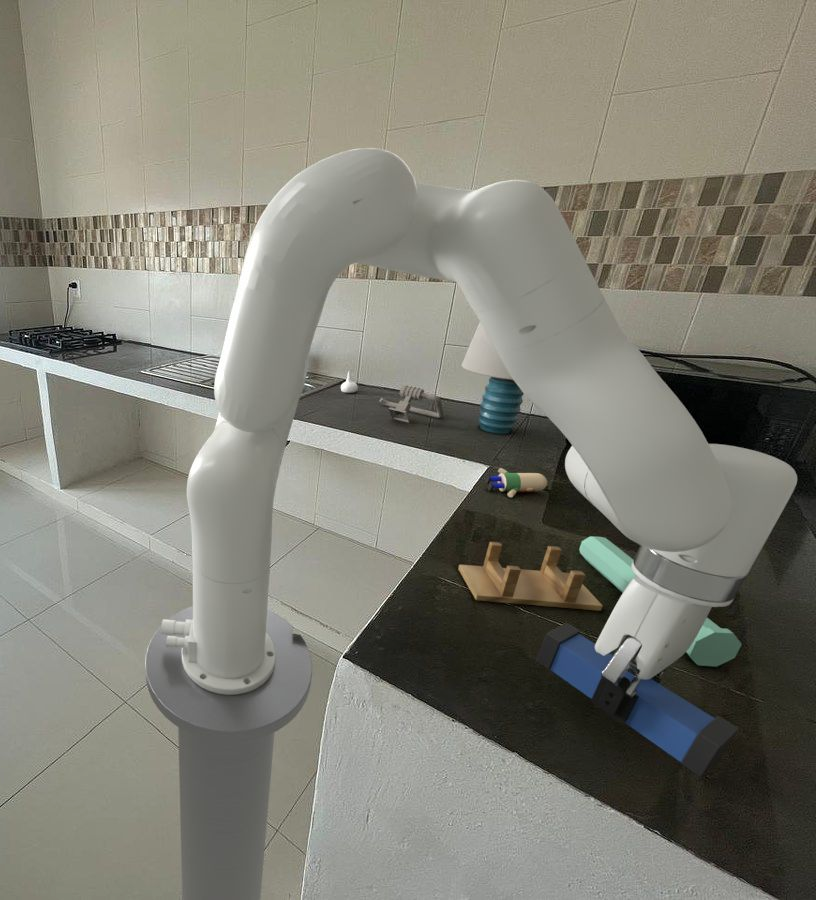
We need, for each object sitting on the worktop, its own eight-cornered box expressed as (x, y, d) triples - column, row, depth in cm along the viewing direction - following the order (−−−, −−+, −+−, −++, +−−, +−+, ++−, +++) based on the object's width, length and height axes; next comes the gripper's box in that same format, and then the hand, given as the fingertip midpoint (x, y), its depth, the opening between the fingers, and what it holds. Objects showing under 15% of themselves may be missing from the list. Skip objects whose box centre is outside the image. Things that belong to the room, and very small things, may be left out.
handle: (535, 660, 60) (546, 633, 58) (556, 649, 62) (566, 622, 60) (700, 778, 47) (720, 747, 45) (720, 758, 48) (739, 728, 47)
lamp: (435, 427, 148) (461, 294, 133) (468, 411, 164) (495, 291, 149) (527, 451, 131) (569, 302, 116) (554, 430, 147) (594, 297, 132)
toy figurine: (491, 503, 108) (548, 503, 106) (498, 491, 104) (557, 491, 103) (480, 475, 113) (534, 474, 112) (486, 462, 110) (542, 462, 108)
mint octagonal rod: (586, 524, 84) (714, 624, 61) (615, 537, 84) (752, 641, 61) (564, 550, 86) (679, 657, 63) (592, 563, 86) (716, 673, 63)
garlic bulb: (358, 394, 182) (360, 373, 179) (341, 393, 183) (343, 373, 180) (355, 390, 188) (358, 369, 185) (339, 389, 189) (341, 369, 186)
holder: (475, 600, 74) (484, 568, 72) (457, 569, 82) (465, 539, 79) (601, 611, 72) (614, 578, 70) (571, 578, 80) (582, 547, 77)
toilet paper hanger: (447, 413, 157) (441, 388, 147) (432, 441, 154) (425, 417, 144) (383, 398, 171) (374, 375, 162) (368, 424, 169) (358, 401, 159)
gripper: (677, 531, 54) (619, 655, 61) (596, 570, 46) (540, 705, 53) (771, 568, 48) (695, 701, 55) (695, 620, 40) (617, 766, 47)
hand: (619, 702), depth 54 cm, fingers closed on handle, 4 cm apart
